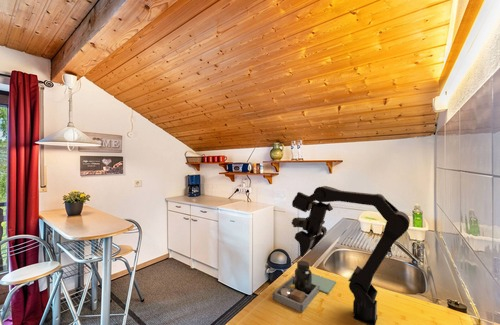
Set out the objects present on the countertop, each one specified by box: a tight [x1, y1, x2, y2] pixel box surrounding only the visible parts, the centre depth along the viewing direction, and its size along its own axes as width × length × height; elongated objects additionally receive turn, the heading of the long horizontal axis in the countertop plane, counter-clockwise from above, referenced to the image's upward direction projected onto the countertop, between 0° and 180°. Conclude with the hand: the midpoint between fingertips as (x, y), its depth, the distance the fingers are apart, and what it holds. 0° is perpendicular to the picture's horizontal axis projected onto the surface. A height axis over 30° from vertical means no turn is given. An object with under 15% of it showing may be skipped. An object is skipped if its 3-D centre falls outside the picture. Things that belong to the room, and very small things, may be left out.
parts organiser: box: [272, 275, 320, 313], centre depth 88 cm, size 12×17×2 cm
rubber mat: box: [312, 273, 337, 295], centre depth 97 cm, size 11×11×1 cm
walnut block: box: [290, 288, 305, 303], centre depth 83 cm, size 4×4×4 cm
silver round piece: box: [281, 288, 291, 299], centre depth 86 cm, size 4×4×3 cm
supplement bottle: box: [293, 260, 313, 295], centre depth 90 cm, size 7×7×12 cm
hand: (306, 252), depth 90 cm, fingers open, 9 cm apart
